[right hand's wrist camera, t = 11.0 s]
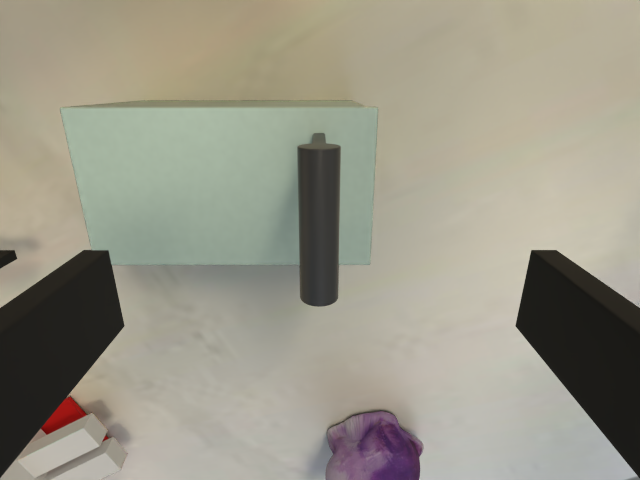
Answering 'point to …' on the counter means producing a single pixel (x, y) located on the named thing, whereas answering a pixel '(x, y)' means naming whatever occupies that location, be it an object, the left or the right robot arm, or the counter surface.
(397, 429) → the figurine
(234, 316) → the counter surface
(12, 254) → the left robot arm
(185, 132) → the lid
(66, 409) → the toy
